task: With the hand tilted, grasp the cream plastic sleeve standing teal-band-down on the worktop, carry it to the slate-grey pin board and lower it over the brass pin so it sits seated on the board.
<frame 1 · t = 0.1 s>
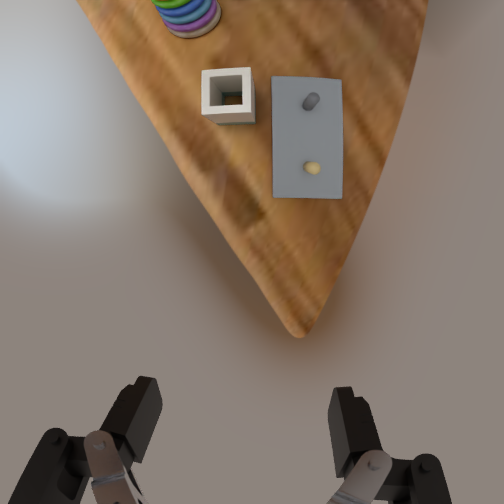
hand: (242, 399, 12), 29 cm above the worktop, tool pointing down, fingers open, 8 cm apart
sleeve: (237, 107, 34), on the worktop
pin board: (307, 136, 35), on the worktop
stacking toy: (194, 18, 30), on the worktop
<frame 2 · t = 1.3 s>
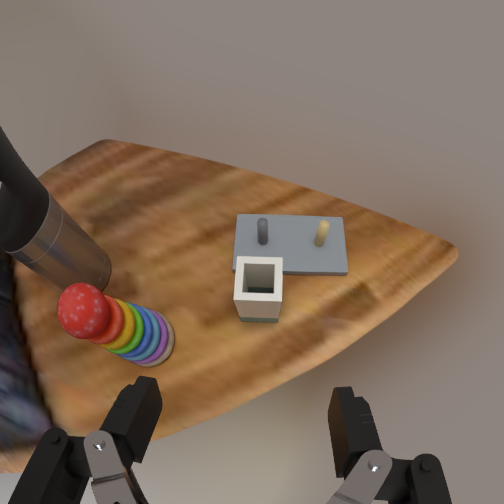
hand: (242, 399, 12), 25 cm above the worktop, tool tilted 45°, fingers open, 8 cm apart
sleeve: (260, 304, 39), on the worktop
pin board: (290, 245, 42), on the worktop
stacking toy: (149, 339, 37), on the worktop
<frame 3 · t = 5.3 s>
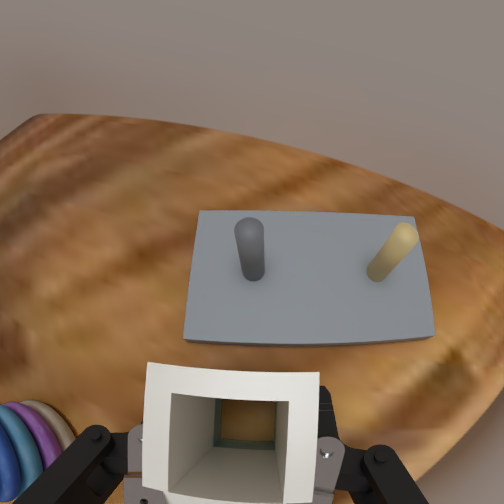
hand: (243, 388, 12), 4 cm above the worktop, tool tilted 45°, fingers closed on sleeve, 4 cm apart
sleeve: (248, 416, 15), on the worktop, touching gripper
pin board: (314, 278, 19), on the worktop
stacking toy: (50, 448, 14), on the worktop
when the fingers open (7 cm above the worktop, at t = 9.7 s): sleeve drops 1 cm, resting on pin board.
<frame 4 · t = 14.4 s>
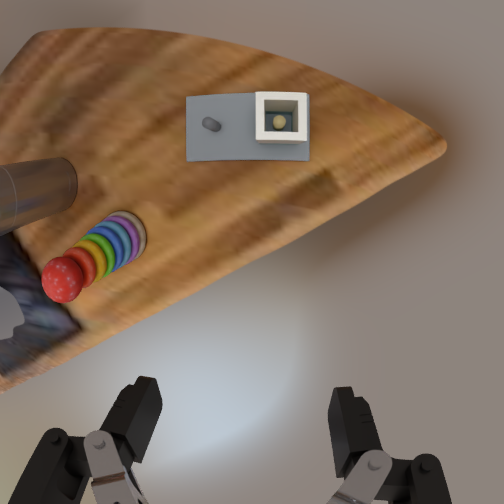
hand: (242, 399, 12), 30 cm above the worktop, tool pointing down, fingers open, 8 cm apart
sleeve: (278, 126, 34), point 1 cm above the worktop, touching pin board
pin board: (247, 126, 36), on the worktop
stacking toy: (125, 234, 42), on the worktop
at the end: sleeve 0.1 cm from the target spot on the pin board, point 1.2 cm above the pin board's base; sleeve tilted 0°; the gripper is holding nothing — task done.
